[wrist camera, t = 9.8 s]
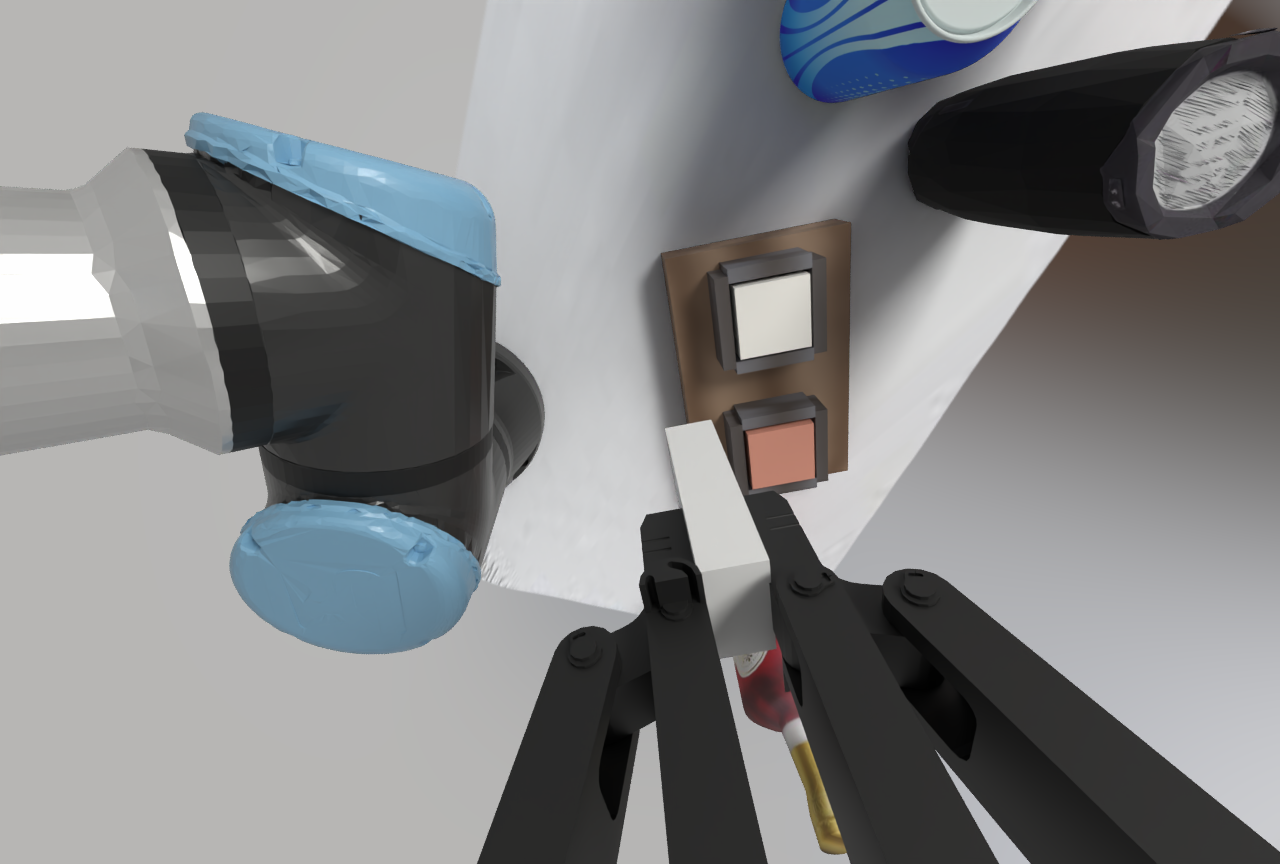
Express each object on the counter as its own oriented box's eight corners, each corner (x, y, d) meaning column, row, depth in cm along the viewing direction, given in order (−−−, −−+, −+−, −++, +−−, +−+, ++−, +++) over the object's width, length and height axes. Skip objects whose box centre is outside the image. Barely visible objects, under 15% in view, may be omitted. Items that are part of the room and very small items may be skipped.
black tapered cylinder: (1024, 171, 40) (1346, 179, 23) (909, 237, 42) (1125, 291, 24) (1002, 54, 36) (1365, -44, 19) (876, 132, 38) (1103, 108, 21)
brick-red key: (747, 477, 46) (752, 489, 44) (742, 424, 44) (748, 435, 42) (806, 466, 46) (814, 478, 44) (805, 412, 43) (813, 423, 42)
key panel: (695, 480, 51) (706, 516, 46) (660, 253, 41) (669, 266, 36) (834, 454, 51) (861, 488, 45) (835, 218, 41) (869, 226, 35)
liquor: (729, 497, 52) (841, 795, 28) (783, 527, 55) (930, 828, 30) (687, 545, 55) (755, 857, 30) (740, 572, 57) (843, 883, 32)
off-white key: (735, 351, 41) (740, 359, 39) (728, 282, 38) (734, 288, 36) (802, 338, 40) (811, 346, 39) (800, 268, 38) (810, 273, 36)
